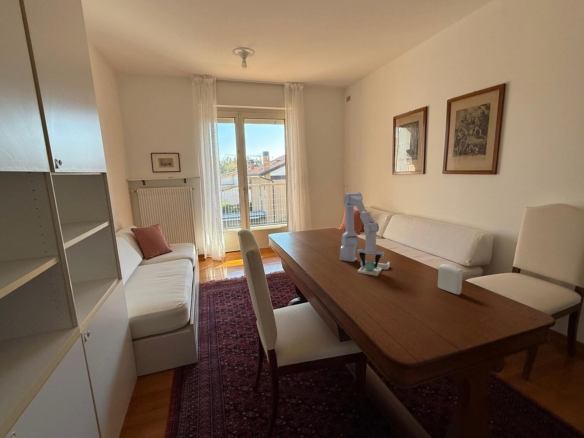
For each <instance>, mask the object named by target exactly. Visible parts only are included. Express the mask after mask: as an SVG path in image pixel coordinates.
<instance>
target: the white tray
mask: <svg viewBox="0 0 584 438" xmlns="http://www.w3.org/2000/svg"><path fill="white" fill-rule="evenodd" d="M382 270H383V269H382V268H379V267H377V268H374V270H372V271H369V270H367V269H366V268H365V266H363V265H362V266H360V267H359V269H358V270H357V274H362V275H369V276H376V277H378V276H379V275H380V273H381V272H382Z"/></svg>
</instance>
